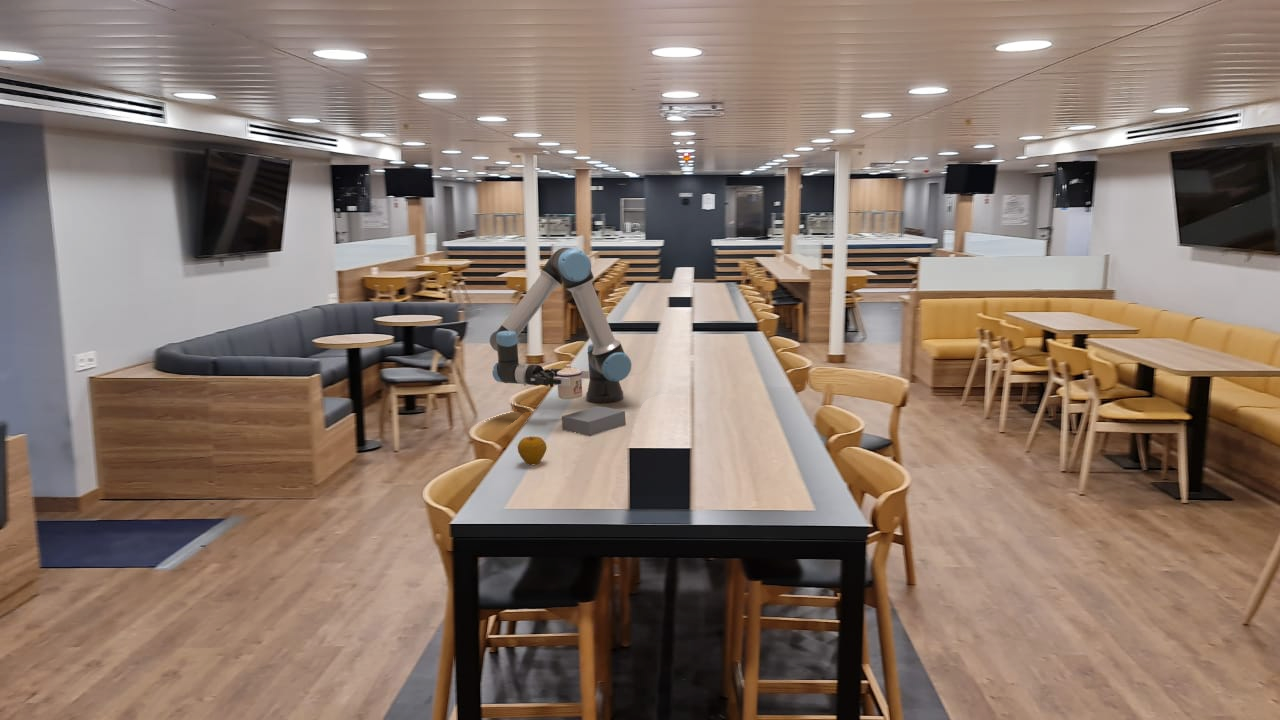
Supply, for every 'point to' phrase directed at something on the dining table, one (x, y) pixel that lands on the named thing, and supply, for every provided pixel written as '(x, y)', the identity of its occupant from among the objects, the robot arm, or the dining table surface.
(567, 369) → the teacup with lid
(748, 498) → the dining table surface
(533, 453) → the apple
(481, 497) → the dining table surface
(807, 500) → the dining table surface
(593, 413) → the charcoal rectangular block
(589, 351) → the robot arm
